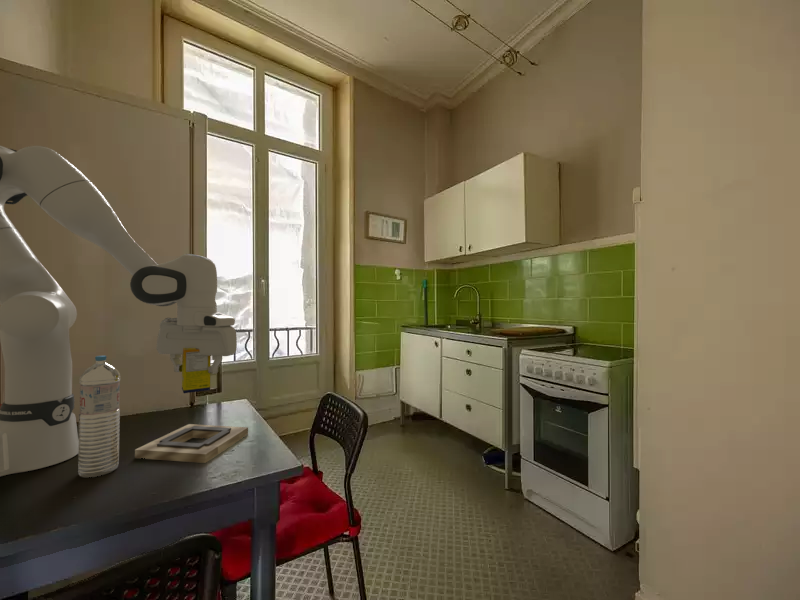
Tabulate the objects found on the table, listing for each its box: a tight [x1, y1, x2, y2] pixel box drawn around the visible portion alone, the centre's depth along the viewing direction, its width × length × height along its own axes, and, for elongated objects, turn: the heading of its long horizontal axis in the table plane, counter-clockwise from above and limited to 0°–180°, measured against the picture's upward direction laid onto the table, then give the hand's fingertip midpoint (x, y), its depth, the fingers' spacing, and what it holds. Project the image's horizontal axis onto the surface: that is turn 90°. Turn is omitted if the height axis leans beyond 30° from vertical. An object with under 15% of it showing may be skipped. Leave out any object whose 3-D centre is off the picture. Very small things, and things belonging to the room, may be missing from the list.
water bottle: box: [77, 355, 121, 479], centre depth 78 cm, size 7×7×25 cm
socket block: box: [134, 423, 249, 464], centre depth 92 cm, size 18×18×2 cm
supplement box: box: [181, 348, 212, 394], centre depth 92 cm, size 6×6×11 cm
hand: (195, 372), depth 92 cm, fingers closed on supplement box, 8 cm apart
